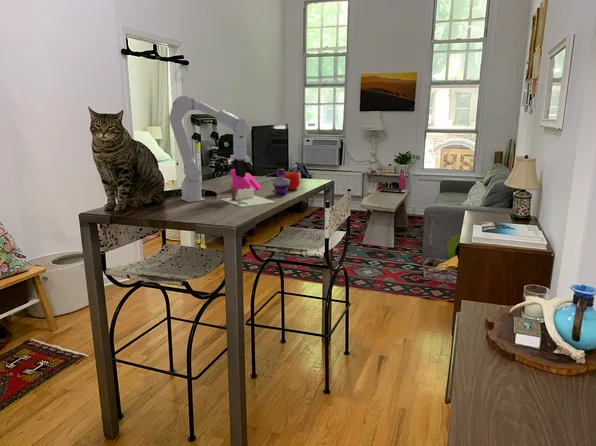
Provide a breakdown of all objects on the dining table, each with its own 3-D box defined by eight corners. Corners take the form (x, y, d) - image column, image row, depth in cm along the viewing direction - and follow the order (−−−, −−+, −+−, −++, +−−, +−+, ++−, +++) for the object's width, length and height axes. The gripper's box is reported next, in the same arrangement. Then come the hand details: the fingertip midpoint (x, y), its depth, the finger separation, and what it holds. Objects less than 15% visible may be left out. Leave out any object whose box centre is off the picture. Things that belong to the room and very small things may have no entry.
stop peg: (237, 204, 190) (237, 197, 190) (240, 203, 191) (240, 197, 191) (239, 204, 189) (239, 198, 188) (242, 204, 190) (242, 197, 189)
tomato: (301, 187, 232) (301, 170, 229) (295, 191, 220) (296, 173, 218) (281, 186, 234) (281, 169, 232) (275, 190, 223) (274, 172, 221)
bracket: (231, 190, 223) (230, 169, 220) (240, 187, 232) (239, 167, 230) (253, 192, 219) (252, 171, 216) (261, 188, 228) (261, 168, 226)
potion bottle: (293, 194, 214) (294, 168, 211) (281, 196, 208) (281, 170, 205) (280, 191, 220) (280, 167, 217) (268, 194, 213) (267, 169, 210)
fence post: (230, 200, 198) (230, 187, 196) (234, 199, 199) (234, 186, 198) (232, 201, 196) (232, 187, 195) (236, 200, 198) (236, 187, 196)
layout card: (220, 199, 199) (220, 198, 199) (253, 195, 209) (253, 194, 209) (242, 207, 185) (242, 206, 185) (276, 202, 195) (276, 201, 194)
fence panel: (238, 199, 198) (238, 189, 197) (237, 198, 199) (236, 189, 198) (253, 197, 203) (253, 188, 202) (252, 196, 204) (252, 187, 203)
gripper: (256, 147, 197) (256, 178, 200) (239, 144, 208) (240, 174, 211) (242, 147, 192) (242, 179, 196) (225, 145, 204) (226, 175, 207)
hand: (240, 176), depth 203 cm, fingers open, 3 cm apart
